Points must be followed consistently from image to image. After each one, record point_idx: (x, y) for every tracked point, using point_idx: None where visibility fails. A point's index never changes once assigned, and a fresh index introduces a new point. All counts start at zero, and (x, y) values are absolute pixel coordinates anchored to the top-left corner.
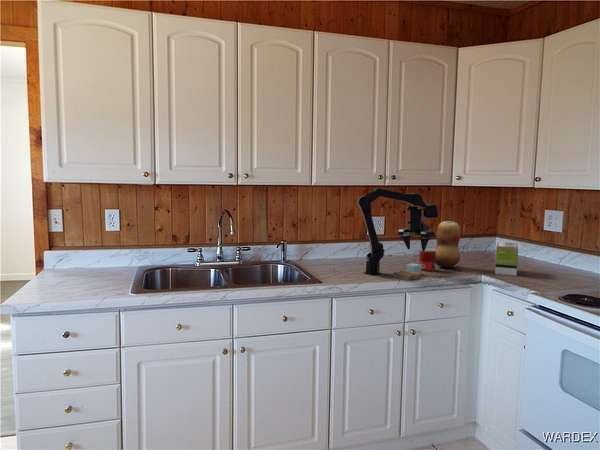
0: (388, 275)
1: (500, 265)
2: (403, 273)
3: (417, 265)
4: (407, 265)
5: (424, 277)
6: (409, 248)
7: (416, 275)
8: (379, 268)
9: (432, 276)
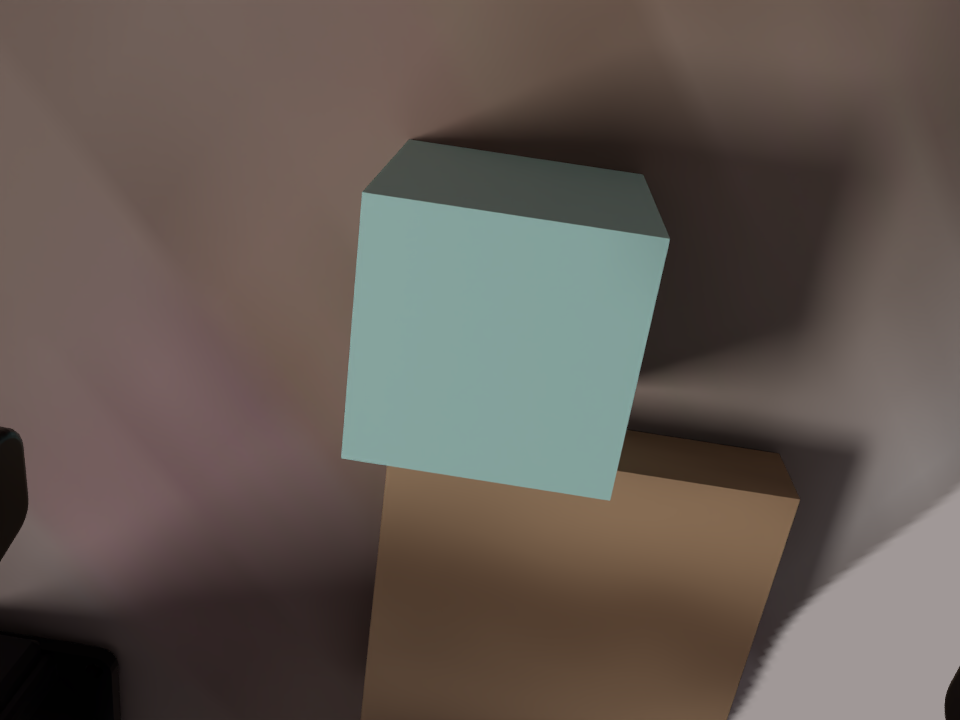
0: (261, 655)
1: None
2: (523, 681)
3: (629, 380)
4: (382, 451)
5: (829, 359)
6: (5, 473)
7: (759, 595)
8: (8, 694)
9: (945, 141)
